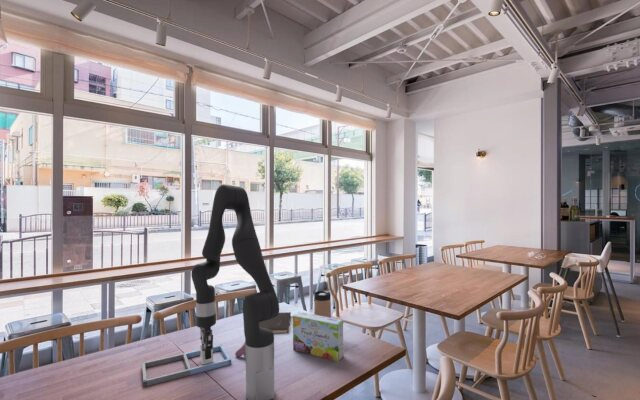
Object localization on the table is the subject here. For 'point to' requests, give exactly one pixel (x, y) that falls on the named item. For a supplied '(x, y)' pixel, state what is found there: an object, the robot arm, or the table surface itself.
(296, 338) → the snack box
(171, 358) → the two-cell open frame
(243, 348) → the video game controller
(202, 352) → the grey rectangular block
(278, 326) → the hardcover book
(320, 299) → the travel mug
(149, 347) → the table surface
